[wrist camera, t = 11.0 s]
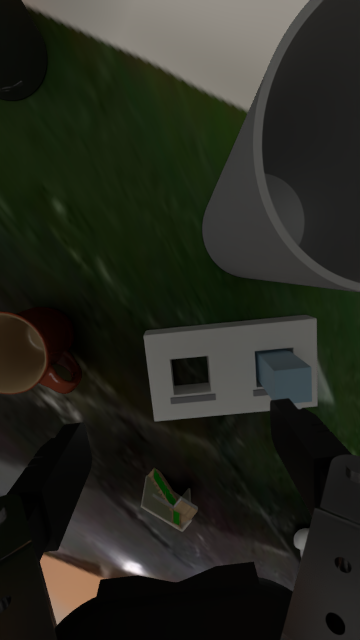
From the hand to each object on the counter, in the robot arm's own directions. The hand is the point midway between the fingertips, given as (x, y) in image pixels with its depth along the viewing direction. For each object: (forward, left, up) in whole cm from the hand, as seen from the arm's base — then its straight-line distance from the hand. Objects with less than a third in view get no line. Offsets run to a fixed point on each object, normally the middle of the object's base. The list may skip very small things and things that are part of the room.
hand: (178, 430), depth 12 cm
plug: (+7, +12, -26) cm, 30 cm away
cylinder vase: (-11, +10, -26) cm, 30 cm away
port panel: (+7, +6, -26) cm, 28 cm away
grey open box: (+25, -4, -27) cm, 37 cm away
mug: (+1, -17, -26) cm, 31 cm away
